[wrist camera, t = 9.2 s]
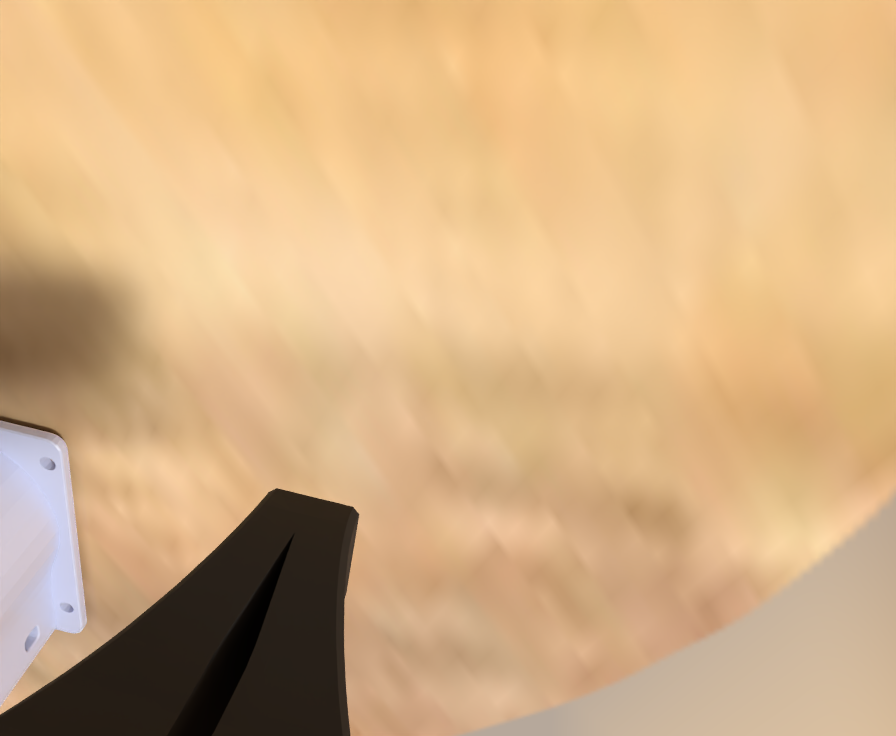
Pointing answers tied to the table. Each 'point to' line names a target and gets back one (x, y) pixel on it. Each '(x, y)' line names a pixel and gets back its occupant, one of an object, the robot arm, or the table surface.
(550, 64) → the table surface
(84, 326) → the table surface
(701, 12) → the table surface
